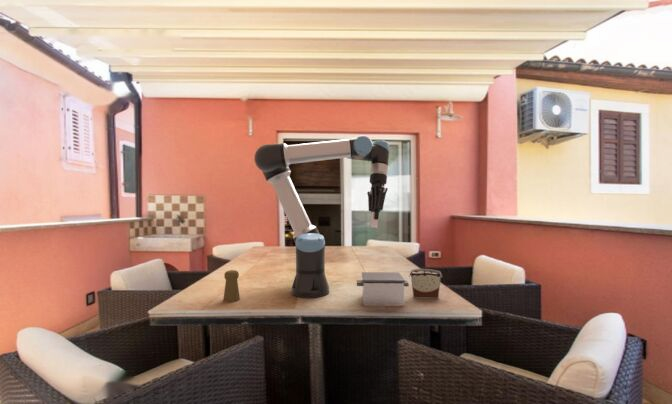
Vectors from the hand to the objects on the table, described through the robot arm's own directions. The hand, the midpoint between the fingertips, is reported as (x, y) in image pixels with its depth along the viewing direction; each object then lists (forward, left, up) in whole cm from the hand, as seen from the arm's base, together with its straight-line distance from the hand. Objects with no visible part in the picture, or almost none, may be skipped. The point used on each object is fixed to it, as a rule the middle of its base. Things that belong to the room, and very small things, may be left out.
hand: (373, 227), depth 137 cm
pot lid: (+8, -16, -18) cm, 25 cm away
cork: (-45, -37, -26) cm, 64 cm away
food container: (+22, -4, -26) cm, 34 cm away
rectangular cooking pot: (+8, -17, -26) cm, 32 cm away
